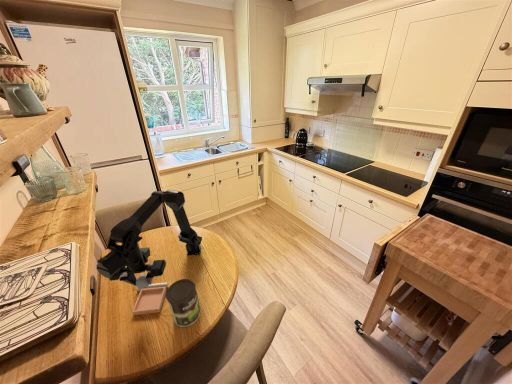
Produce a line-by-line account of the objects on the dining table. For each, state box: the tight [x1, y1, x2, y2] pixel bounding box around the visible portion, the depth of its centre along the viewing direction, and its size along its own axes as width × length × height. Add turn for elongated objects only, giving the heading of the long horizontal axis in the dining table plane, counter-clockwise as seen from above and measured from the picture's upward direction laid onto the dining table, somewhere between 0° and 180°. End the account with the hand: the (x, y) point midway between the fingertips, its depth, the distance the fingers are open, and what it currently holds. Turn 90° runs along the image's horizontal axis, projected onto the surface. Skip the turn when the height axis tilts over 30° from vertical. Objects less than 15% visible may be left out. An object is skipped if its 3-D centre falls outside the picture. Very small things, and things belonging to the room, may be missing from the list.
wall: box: [135, 281, 169, 292], centre depth 93 cm, size 13×1×2 cm, turn 97°
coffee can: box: [165, 278, 201, 328], centre depth 80 cm, size 10×10×14 cm
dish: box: [131, 287, 168, 316], centre depth 88 cm, size 10×10×2 cm
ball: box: [135, 274, 149, 289], centre depth 83 cm, size 5×5×5 cm
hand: (144, 284), depth 83 cm, fingers closed on ball, 5 cm apart
